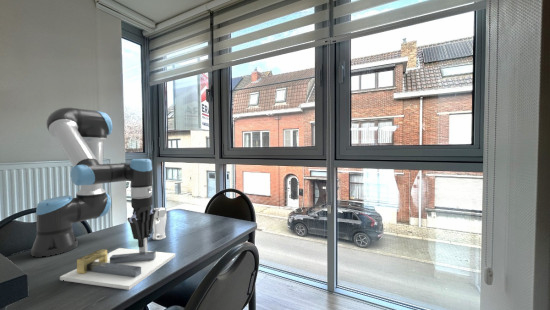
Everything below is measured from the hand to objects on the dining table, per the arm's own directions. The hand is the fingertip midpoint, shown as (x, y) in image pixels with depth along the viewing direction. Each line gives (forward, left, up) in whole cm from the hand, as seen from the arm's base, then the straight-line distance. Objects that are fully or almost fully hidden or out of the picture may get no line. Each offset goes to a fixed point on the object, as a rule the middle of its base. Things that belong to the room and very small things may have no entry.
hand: (143, 253), depth 94 cm
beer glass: (-10, +23, -3) cm, 25 cm away
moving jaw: (-2, -3, -1) cm, 4 cm away
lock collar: (-12, -11, -1) cm, 16 cm away
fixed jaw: (-3, -12, -1) cm, 13 cm away
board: (-3, -6, -3) cm, 8 cm away
